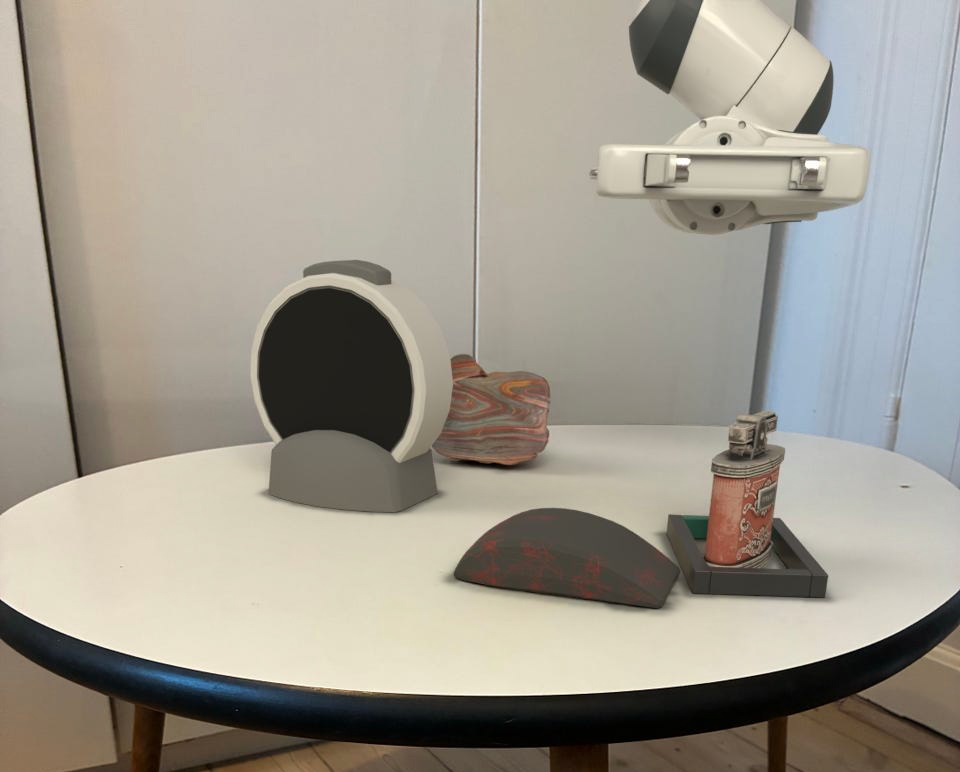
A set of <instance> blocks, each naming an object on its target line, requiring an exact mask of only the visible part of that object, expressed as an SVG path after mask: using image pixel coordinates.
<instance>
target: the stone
mask: <svg viewBox="0 0 960 772" xmlns="http://www.w3.org/2000/svg"><path fill="white" fill-rule="evenodd" d="M450 360H451V369H452V379H453V388H452V396H451V404H450V411H449V413H448V416H447V418H446V421H445V424H444V426H443V429H442V431H441V434H440V435H439V436H438V438H437V439H436V441H435V442H434V443H433V445H432V446H431V447H432V448H433V449H434V450H435V452H436V453H438V454H439V455H441V456H442V457H445V458H448V459H452V460H459V461H473V462H479V463H480V464H481V463H482V464H493V463H495V464H499V465H505V466H513V465H518V464H522V463H525V462H527V461H531V460H534V459H536V458H537V456H538V454H540V453H542V452H543V451H544V450H545V449H546V447H547V445H548V443H549V438H550V430H549V429H548V426H547V424H548V416H549V412H550V409H549V408H550V404H551V388H550V384H549V381H548V380H547V379H546V378H545V377H543V376H541V375H539V374H537V373H534V372H530V371H525V370H518V371H492V372H490V373H487V372H486V371H485V370H484V369H483V367H482V366H481V365H479V363H477V359H476V358H475V357H473V356H472V355H471V354H468V353H458V354H455V355H453V356H452V357H450Z"/></svg>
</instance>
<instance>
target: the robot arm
mask: <svg viewBox="0 0 960 772" xmlns="http://www.w3.org/2000/svg"><path fill="white" fill-rule="evenodd" d="M628 37H629V47H630V53H631V57H632V61H633V65H634V69H635V71H636V74H637V75H638V76H639V77H641V78H642V79H644V80H646V81H647V82H648V83H650V84H652V86H655V87H656V88H658V89H659V90H660V91H661V92H663V93H665V94H666V95H669V94H670V95H671V97H673V98H674V99H675V100H677V101H678V102H679V103H680V104H682V105H683V106H684V107H685V108H686V109H688V111H690V112H691V113H692V114H693V115H695V116H696V117H697V118H698V119H699V120H698V121H696V122H694V123H693V124H691V125H690V126H688V127H686V128H684V129H683V130H681V131H679V132H677V133H676V134H674V135H673V136H671V137H670V138H669V139H668V140H667V141H666V142H665V143H664V144H663V143H662V144H661V143H660V144H659V143H658V144H657V143H654V144H653V143H607V144H602V145H601V146H600V147H599V148H598V157H597V159H598V160H597V166H596V167H595V166H593V167H591V168H590V171H589V172H588V176H589V179H590V180H593V181H594V180H595V181H596V194H597V195H598V197H602V198H606V199H607V198H608V199H616V200H617V199H619V200H620V199H621V200H648V201H649V203H650V205H651V207H652V209H653V211H654V212H655V214H656V215H657V217H658V218H659V219H660V220H661V222H663V223H664V224H665V225H667V226H668V227H670V228H672V229H673V230H677V231H679V232H683V233H687V234H697V235H698V234H699V235H707V236H716V235H717V236H718V235H723V234H727V233H731V232H733V231H734V232H738V231H742V230H746V229H749V228H752V227H756V226H759V225H771V224H778V223H779V224H780V223H781V224H782V223H802V221H804V222H805V221H806V222H812V221H814V220H816V219H817V218H818V215H819V213H824V212H829V211H836V210H839V209H843V208H848V207H850V206H855V205H857V204H859V203H861V201H862V200H863V199H864V198H865V195H866V191H867V186H868V181H869V175H870V167H871V152H870V150H869V149H868V148H867V147H865V146H860V145H853V144H846V143H837V142H830V141H828V136H826V135H824V134H819V133H820V132H821V130H822V128H823V126H824V124H825V123H826V121H827V119H828V117H829V114H830V112H831V107H832V102H833V96H834V95H833V93H834V77H835V76H834V69H833V68H834V67H833V63H832V61H831V60H829V59H828V58H827V57H826V55H824V54H823V52H822V51H820V50H819V49H818V48H817V47H816V46H815V45H814V44H813V43H812V42H810V41H809V40H808V39H807V38H806V37H805V36H804V35H802V34H801V33H800V32H799V31H798V30H796V28H794V27H793V26H792V25H789V24H788V23H787V22H786V21H784V20H783V19H782V18H781V17H780V16H779V15H778V14H776V12H774V11H773V10H772V9H770V8H769V7H768V6H767V5H766V4H765V3H764V2H763V1H761V0H640V2H639V4H638V5H637V7H636V9H635V12H634V13H633V17H632V19H631V23H630V24H629V26H628Z"/></svg>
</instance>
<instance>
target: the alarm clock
mask: <svg viewBox="0 0 960 772" xmlns="http://www.w3.org/2000/svg"><path fill="white" fill-rule="evenodd" d="M302 277H303V278H301V279H299V280H297V281H295V282H292V283H290V284H289V285H286V286H285V287H284V288H283V289H282V290H281V291H279V293H278V294H277V295H276V296H275V297H273V299H272V300H271V301H270V302H269V304H268V305H267V307H266V308H265V311H264V312H263V314H262V316H261V318H260V320H259V321H258V322H257V325H256V329H255V333H254V337H253V339H252V340H253V341H252V345H251V348H250V365H249V366H250V367H249V368H250V369H249V376H250V377H249V378H250V382H251V383H250V384H251V388H252V389H251V390H252V394H253V401H254V403H255V406H256V409H257V411H258V414H259V416H260V420H261V422H262V424H263V427H264V428H265V430H266V432H267V433H268V434H269V436H270V438H271V439H272V441H273V443H274V444H275V445H274V447H273V448H272V449H271V454H270V465H269V482H268V495H271V496H273V497H275V498H278V499H281V500H285V501H289V502H294V503H298V504H302V505H303V504H304V505H308V506H313V507H318V508H319V507H320V508H327V509H335V510H343V511H345V510H346V511H357V512H369V513H370V512H371V513H373V512H374V513H397V512H402V511H404V510H406V509H408V508H411V507H412V506H414V505H416V504H419V503H421V502H423V501H425V500H427V499H429V498H431V497H434V496H436V495H437V494H438V488H437V486H438V485H437V480H436V471H435V465H434V457H433V450H432V449H431V447H432V445H433V443H434V442H435V441H436V439H437V438H438V436H439V435H440V434H441V431H442V429H443V426H444V424H445V421H446V418H447V416H448V413H449V411H450V404H451V396H452V388H453V379H452V369H451V360H450V359H451V354H450V352H449V348H448V346H447V343H446V340H445V337H444V334H443V331H442V329H441V327H440V325H439V324H438V322H437V321H436V319H435V317H434V316H433V315H432V313H431V312H430V309H429V308H428V306H427V305H426V304H425V303H424V302H423V301H421V299H420V298H418V296H416V294H414V293H413V292H412V291H411V290H410V289H409V288H408V287H406V286H405V285H403V284H401V283H400V282H397V281H395V280H394V279H392V273H391V271H390V270H389V269H387V268H385V267H383V266H382V265H380V264H377V263H373V262H370V261H365V260H359V259H347V260H346V259H345V260H344V259H343V260H330V261H329V260H328V261H322V262H317V263H313V264H310V265H309V266H307V267H305V268H304V269H303V271H302Z"/></svg>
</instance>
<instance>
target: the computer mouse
mask: <svg viewBox="0 0 960 772" xmlns="http://www.w3.org/2000/svg"><path fill="white" fill-rule="evenodd" d="M680 574H681V569H680V568H679V566H678V565H677V564H676V563H675V562H674V561H673V560H672V559H670V558H669V557H668V556H667V555H666V554H664V553H663V552H661V551H660V550H659V549H658V548H657V547H655V546H654V545H653V544H651V543H650V542H648V541H647V540H646V539H645V538H643V537H642V536H640V535H638V534H637V533H636V532H634V531H633V530H631V529H629V528H627V527H626V526H625V525H622V524H620V523H618V522H615V521H614V520H612V519H611V520H610V519H609V518H605V517H603V516H599V515H596V514H593V513H590V512H586V511H582V510H578V509H571V508H562V507H561V508H560V507H540V508H532V509H528V510H525V511H521V512H519V513H516V514H514V515H512V516H510V517H508V518H505V519H504V520H502V521H501V522H499V523H497V524H496V525H494V526H492V527H491V528H490V529H488V530H487V531H485V532H484V533H483V534H482V535H481V536H480V537H479V538H478V539H477V540H476V541H475V542H474V543H473V544H472V545H471V546H470V547H469V548H468V549H467V550H466V551H465V553H464V554H463V555H462V557H461V558H460V560H459V561H458V563H457V565H456V566H455V569H454V571H453V577H455V578H456V579H458V580H462V581H465V582H471V583H477V584H481V585H485V586H489V587H495V588H501V589H508V590H515V591H522V592H530V593H537V594H545V595H552V596H559V597H565V598H566V597H568V598H573V599H574V598H575V599H583V600H590V601H597V602H606V603H613V604H615V603H616V604H621V605H622V604H623V605H629V606H631V605H632V606H638V607H645V608H652V609H660V608H662V607H663V605H664V604H665V602H666V600H667V598H668V596H669V594H670V592H671V590H672V589H673V587H674V585H675V583H676V582H677V580H678V578H679V576H680Z"/></svg>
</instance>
